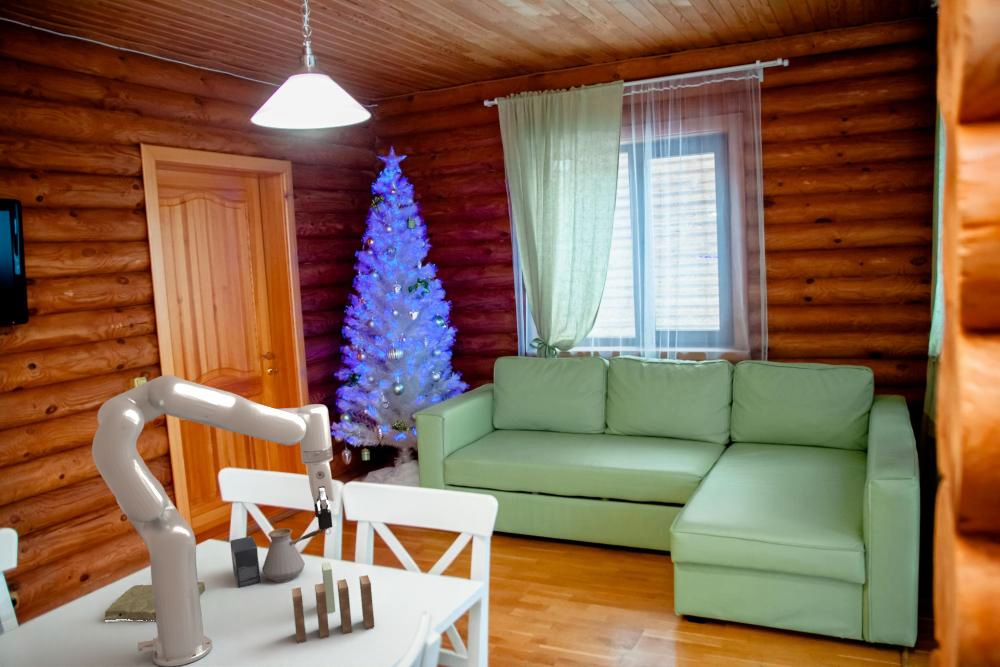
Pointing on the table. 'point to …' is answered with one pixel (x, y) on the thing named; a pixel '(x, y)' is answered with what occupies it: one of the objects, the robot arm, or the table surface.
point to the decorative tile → (137, 604)
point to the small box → (245, 561)
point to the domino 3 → (328, 586)
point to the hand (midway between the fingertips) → (323, 522)
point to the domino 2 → (322, 610)
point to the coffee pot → (284, 555)
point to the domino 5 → (366, 601)
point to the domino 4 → (344, 606)
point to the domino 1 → (299, 615)
